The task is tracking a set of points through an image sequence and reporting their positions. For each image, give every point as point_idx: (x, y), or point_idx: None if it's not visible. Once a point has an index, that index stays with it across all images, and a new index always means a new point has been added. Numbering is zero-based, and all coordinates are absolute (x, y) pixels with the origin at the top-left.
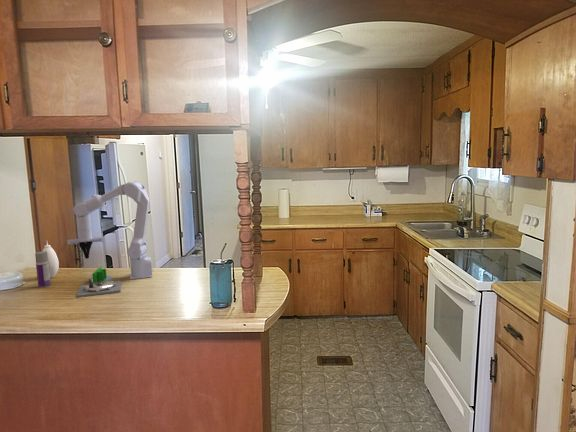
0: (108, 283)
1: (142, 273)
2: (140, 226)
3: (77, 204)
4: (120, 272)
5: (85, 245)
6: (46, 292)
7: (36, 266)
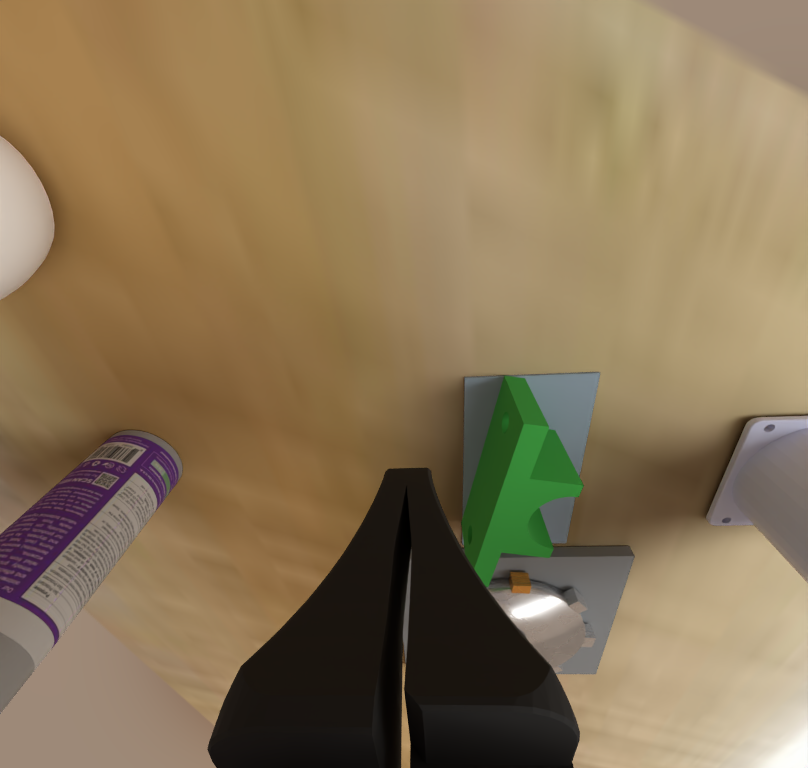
0: (555, 633)
1: None
2: None
3: None
4: (705, 276)
5: (393, 728)
6: (228, 569)
7: None
